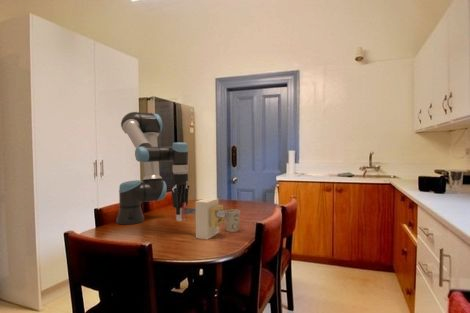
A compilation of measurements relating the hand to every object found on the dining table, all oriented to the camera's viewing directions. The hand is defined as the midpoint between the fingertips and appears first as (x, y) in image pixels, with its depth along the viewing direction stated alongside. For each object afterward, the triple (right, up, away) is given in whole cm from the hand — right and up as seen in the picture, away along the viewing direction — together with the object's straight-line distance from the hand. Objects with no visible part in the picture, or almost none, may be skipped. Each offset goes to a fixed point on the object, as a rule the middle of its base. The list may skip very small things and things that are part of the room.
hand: (180, 220), depth 147 cm
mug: (+25, -6, +5) cm, 26 cm away
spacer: (+19, -1, -8) cm, 21 cm away
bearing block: (+14, -6, -6) cm, 16 cm away
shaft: (+10, +1, -4) cm, 11 cm away
